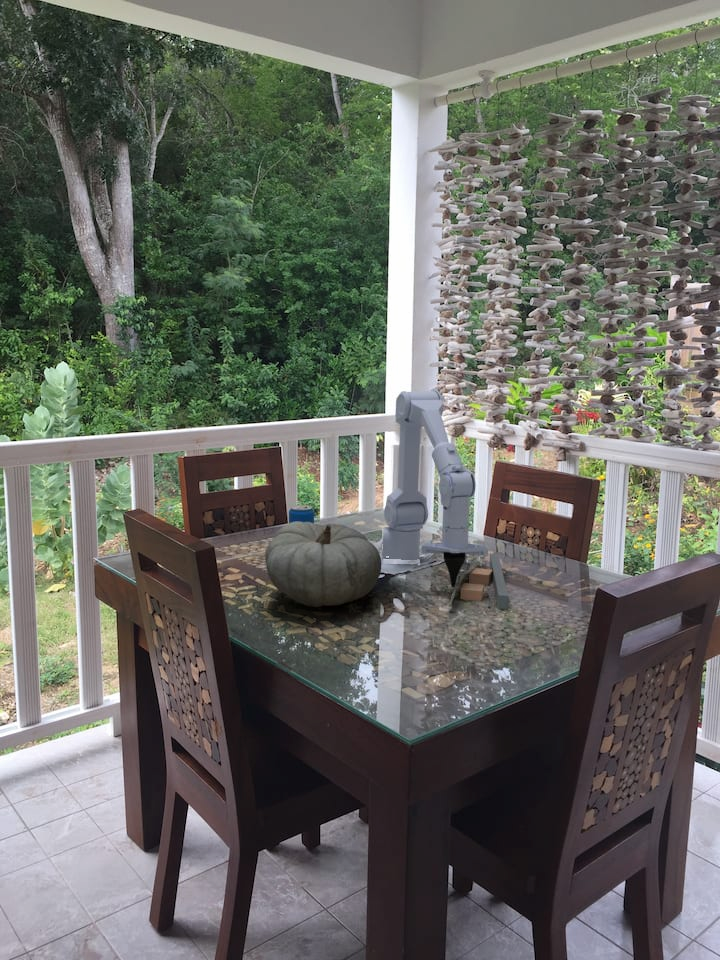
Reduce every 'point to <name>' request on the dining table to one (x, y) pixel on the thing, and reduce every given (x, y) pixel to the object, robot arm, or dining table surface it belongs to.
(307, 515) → the beverage can
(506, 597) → the slate curb
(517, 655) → the dining table surface
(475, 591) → the tile
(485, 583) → the tile
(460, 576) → the driftwood
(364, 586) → the gourd
